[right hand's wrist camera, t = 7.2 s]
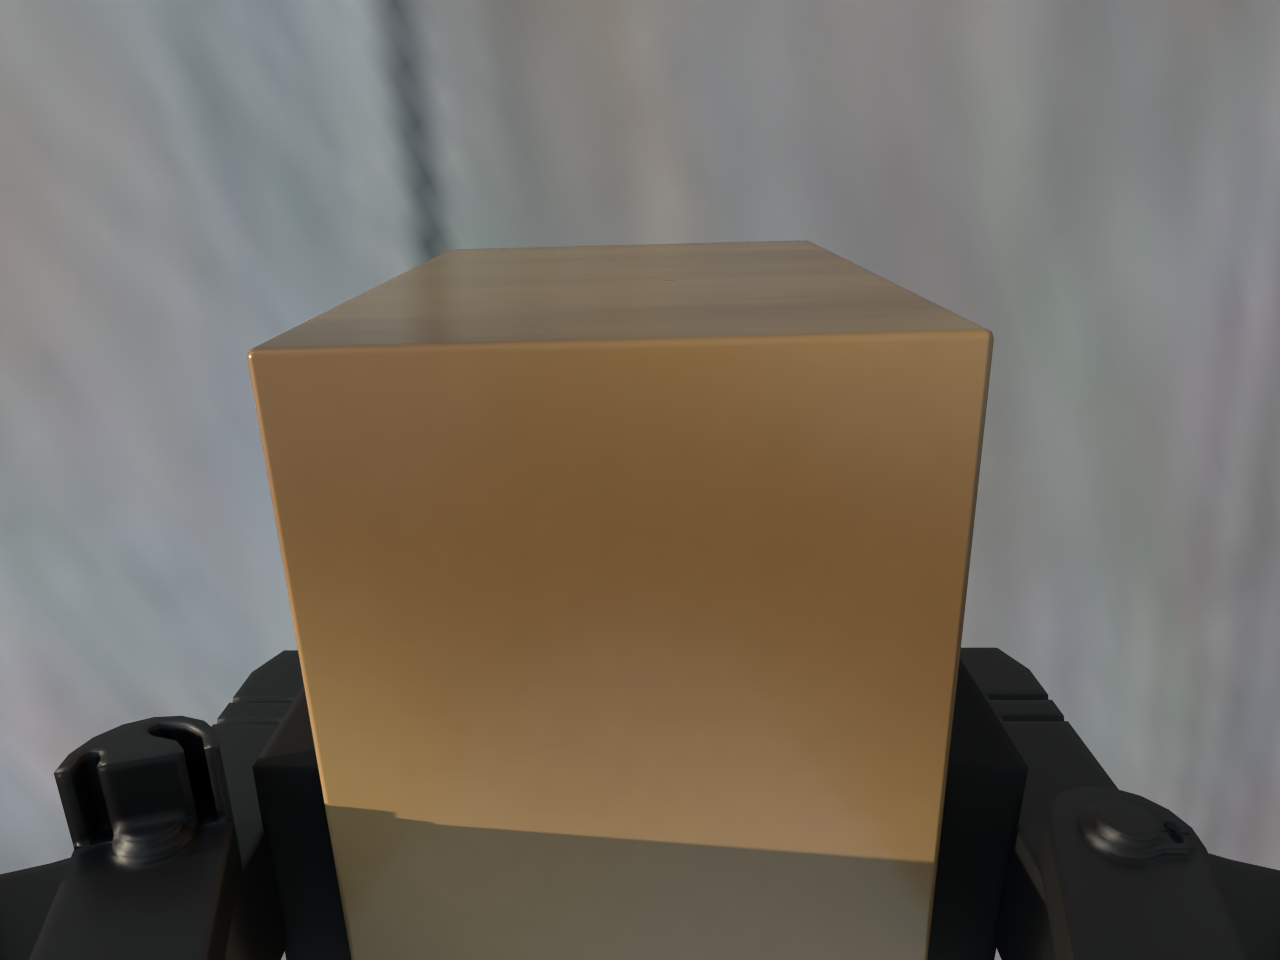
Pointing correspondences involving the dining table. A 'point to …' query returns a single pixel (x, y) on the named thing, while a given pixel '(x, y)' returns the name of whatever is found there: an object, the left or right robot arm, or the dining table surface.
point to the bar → (630, 598)
